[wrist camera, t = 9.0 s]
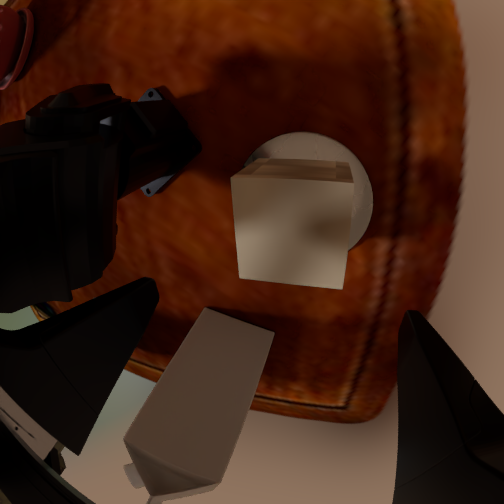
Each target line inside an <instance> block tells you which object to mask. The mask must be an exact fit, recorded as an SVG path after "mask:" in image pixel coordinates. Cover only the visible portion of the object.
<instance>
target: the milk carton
mask: <svg viewBox="0 0 504 504" xmlns="http://www.w3.org/2000/svg"><path fill="white" fill-rule="evenodd" d="M274 334H275V333H274V332H272V331H269V330H266V329H263V328H260V327H257V326H254V325H252V324H249V323H246V322H243V321H240V320H238V319H235V318H232V317H229V316H227V315H224V314H221V313H219V312H216V311H213V310H211V309H208V308H204V309H203V311H202V313H201V314H200V316H199V317H198V319H197V320H196V322H195V324H194V325H193V327H192V328H191V330H190V331H189V333H188V335H187V336H186V338H185V339H184V341H183V342H182V344H181V346H180V347H179V349H178V350H177V352H176V353H175V355H174V357H173V358H172V360H171V361H170V363H169V365H168V366H167V368H166V369H165V371H164V373H163V374H162V376H161V377H160V379H159V381H158V382H157V384H156V385H155V387H154V389H153V390H152V392H151V394H150V395H149V397H148V398H147V400H146V401H145V403H144V405H143V406H142V408H141V409H140V411H139V413H138V414H137V416H136V417H135V419H134V421H133V422H132V424H131V426H130V427H129V429H128V431H127V432H126V434H125V436H124V438H123V440H124V442H125V445H126V448H127V450H128V452H129V454H130V457H131V459H132V461H133V463H131V464H127V465H124V470H125V473H126V475H127V477H128V479H129V480H130V482H131V484H132V485H133V486H134V487H135V488H141V487H143V486H145V487H146V489H147V491H148V492H149V494H150V498H149V499H148V501H147V503H146V504H162V502H163V501H166V500H172V499H177V498H182V497H187V496H192V495H196V494H201V493H205V492H209V491H212V490H214V489H215V488H216V487H217V486H218V485H219V484H220V483H221V481H222V478H223V476H224V473H225V471H226V468H227V466H228V463H229V461H230V458H231V456H232V453H233V451H234V448H235V446H236V443H237V440H238V438H239V435H240V433H241V430H242V427H243V425H244V422H245V419H246V416H247V414H248V411H249V408H250V405H251V403H252V400H253V397H254V394H255V391H256V388H257V386H258V383H259V380H260V377H261V374H262V371H263V368H264V365H265V362H266V359H267V356H268V353H269V350H270V347H271V344H272V341H273V338H274Z"/></svg>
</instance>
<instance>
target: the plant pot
mask: <svg viewBox="0 0 504 504" xmlns="http://www.w3.org/2000/svg"><path fill="white" fill-rule="evenodd" d="M33 34H34V18H33V15H32V12H31V11H30V10H29V9H27V8H21V9H19V10H17V11H16V12H15V11H14V10H13V9H11V8H9V7H7V6H3V5H0V90H3V89H5V88H7V87H9V86H10V85H11V84H12V83H13V82H14V81H15V79H16V78H17V77H18V75H19V74H20V72H21V71H22V69H23V66H24V64H25V62H26V59H27V56H28V54H29V51H30V47H31V44H32V39H33Z"/></svg>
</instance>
